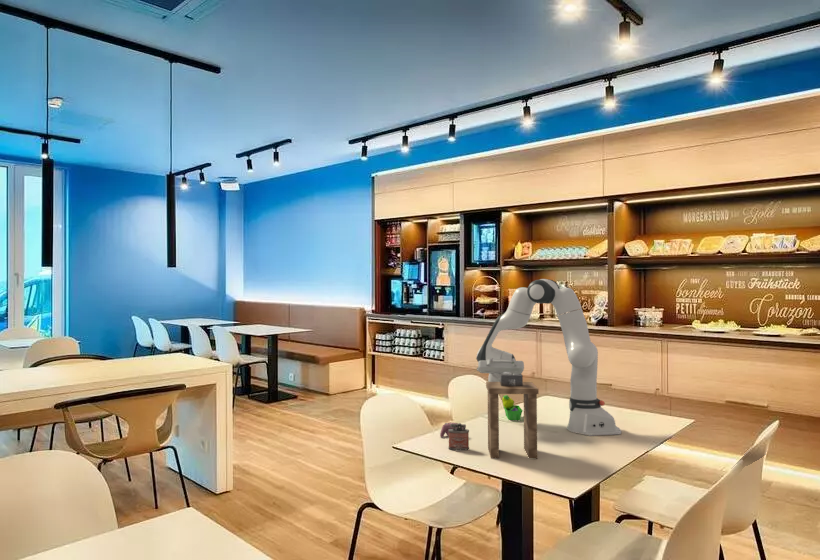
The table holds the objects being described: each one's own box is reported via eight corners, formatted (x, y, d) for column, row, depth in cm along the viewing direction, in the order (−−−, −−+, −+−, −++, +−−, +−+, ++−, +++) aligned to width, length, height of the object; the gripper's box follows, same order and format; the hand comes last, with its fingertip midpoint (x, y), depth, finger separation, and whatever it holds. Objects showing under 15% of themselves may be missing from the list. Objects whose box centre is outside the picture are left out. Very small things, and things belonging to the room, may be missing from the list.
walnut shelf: (532, 448, 213) (532, 382, 213) (539, 459, 199) (538, 388, 199) (486, 447, 214) (486, 381, 214) (489, 459, 200) (489, 388, 200)
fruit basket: (523, 421, 256) (522, 397, 256) (504, 421, 256) (504, 397, 256) (518, 415, 267) (518, 392, 267) (500, 415, 267) (500, 392, 267)
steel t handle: (516, 378, 222) (516, 368, 222) (522, 386, 204) (522, 375, 204) (496, 378, 223) (496, 368, 223) (501, 386, 205) (501, 375, 205)
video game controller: (464, 441, 229) (465, 424, 232) (461, 438, 225) (463, 421, 228) (441, 439, 232) (443, 422, 235) (439, 436, 228) (440, 420, 231)
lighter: (469, 448, 214) (468, 422, 214) (469, 450, 210) (468, 424, 210) (448, 447, 214) (448, 422, 215) (448, 450, 211) (448, 424, 211)
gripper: (476, 364, 250) (478, 353, 239) (521, 365, 249) (525, 353, 237) (476, 377, 247) (478, 366, 235) (522, 378, 246) (526, 367, 234)
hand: (502, 359), depth 236 cm, fingers open, 8 cm apart
